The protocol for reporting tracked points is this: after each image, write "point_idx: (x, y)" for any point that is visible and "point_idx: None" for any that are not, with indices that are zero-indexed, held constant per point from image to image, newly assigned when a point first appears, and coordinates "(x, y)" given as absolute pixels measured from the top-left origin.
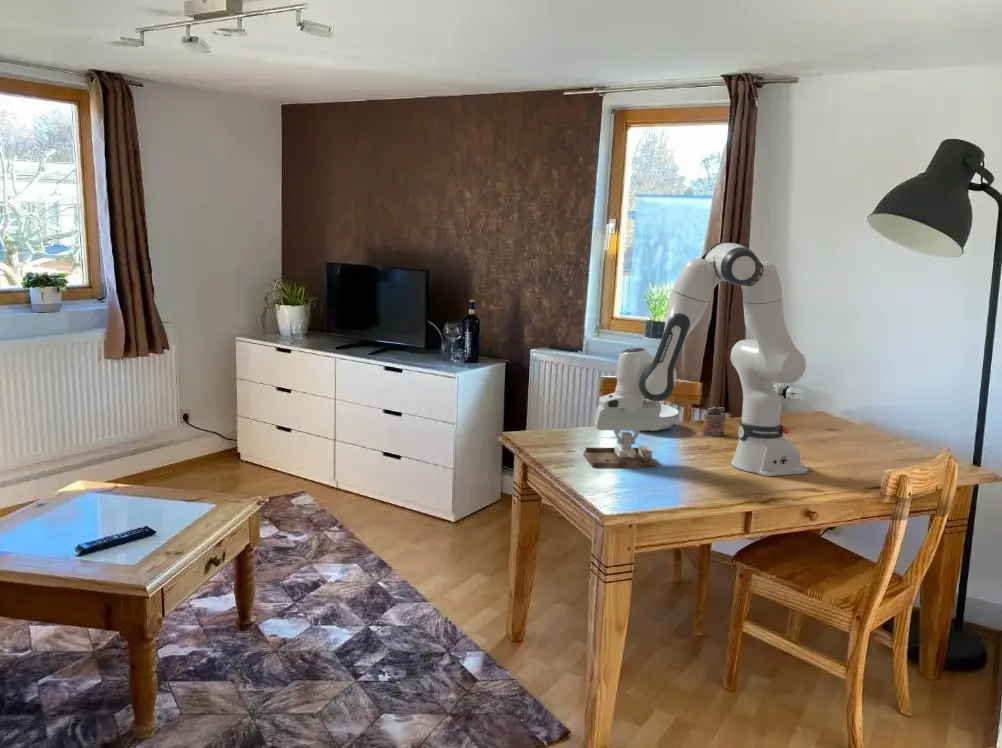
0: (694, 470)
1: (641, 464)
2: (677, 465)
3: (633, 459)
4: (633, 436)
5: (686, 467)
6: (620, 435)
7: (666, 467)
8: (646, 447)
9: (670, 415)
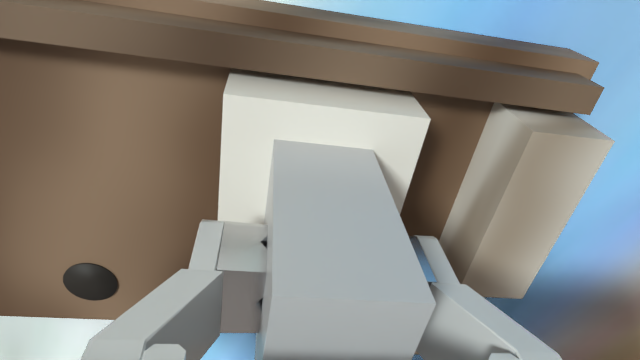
0: (622, 345)
1: None
2: (610, 279)
3: None
4: (436, 334)
5: (627, 308)
6: (271, 237)
7: (512, 303)
8: (567, 195)
9: None
